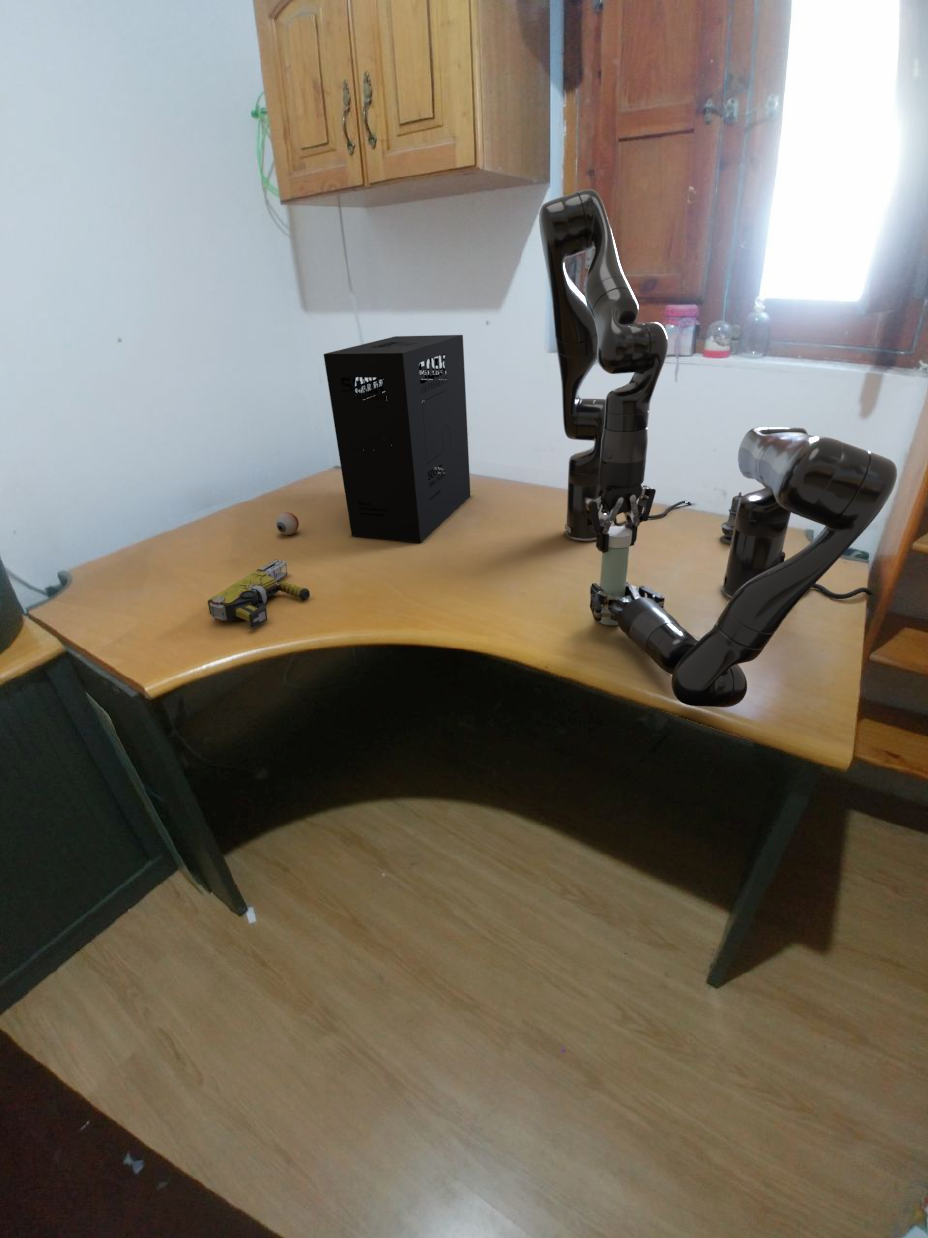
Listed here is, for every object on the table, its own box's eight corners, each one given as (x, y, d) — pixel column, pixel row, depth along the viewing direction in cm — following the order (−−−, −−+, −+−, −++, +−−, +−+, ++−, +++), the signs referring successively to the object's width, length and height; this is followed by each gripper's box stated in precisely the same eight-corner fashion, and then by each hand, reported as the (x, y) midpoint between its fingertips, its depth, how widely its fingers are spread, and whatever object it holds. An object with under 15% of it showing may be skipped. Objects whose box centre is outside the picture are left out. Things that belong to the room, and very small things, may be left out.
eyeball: (273, 537, 164) (268, 516, 161) (287, 528, 169) (282, 508, 166) (291, 539, 161) (286, 518, 158) (305, 530, 166) (301, 510, 163)
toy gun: (329, 568, 137) (273, 556, 141) (266, 615, 117) (202, 599, 121) (331, 586, 139) (275, 574, 143) (268, 635, 119) (205, 620, 123)
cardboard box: (410, 491, 192) (395, 336, 169) (470, 495, 185) (462, 334, 162) (351, 535, 161) (323, 353, 139) (420, 542, 155) (402, 352, 132)
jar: (607, 627, 115) (614, 540, 106) (592, 617, 118) (598, 532, 109) (627, 621, 116) (636, 535, 107) (612, 611, 120) (619, 526, 111)
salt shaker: (746, 544, 143) (756, 496, 137) (720, 544, 145) (729, 495, 139) (742, 535, 148) (751, 488, 142) (716, 534, 150) (724, 487, 144)
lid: (613, 550, 106) (614, 539, 105) (595, 540, 110) (596, 529, 109) (637, 544, 108) (638, 532, 107) (618, 534, 112) (619, 523, 111)
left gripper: (643, 443, 107) (634, 533, 115) (574, 456, 102) (570, 548, 110) (672, 453, 101) (661, 547, 109) (600, 466, 96) (594, 563, 104)
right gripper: (691, 601, 102) (641, 562, 116) (613, 616, 99) (571, 573, 113) (685, 639, 105) (637, 596, 120) (610, 654, 103) (570, 608, 117)
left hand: (615, 547), depth 110 cm, fingers closed on lid, 5 cm apart
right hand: (605, 585), depth 116 cm, fingers closed on jar, 4 cm apart
